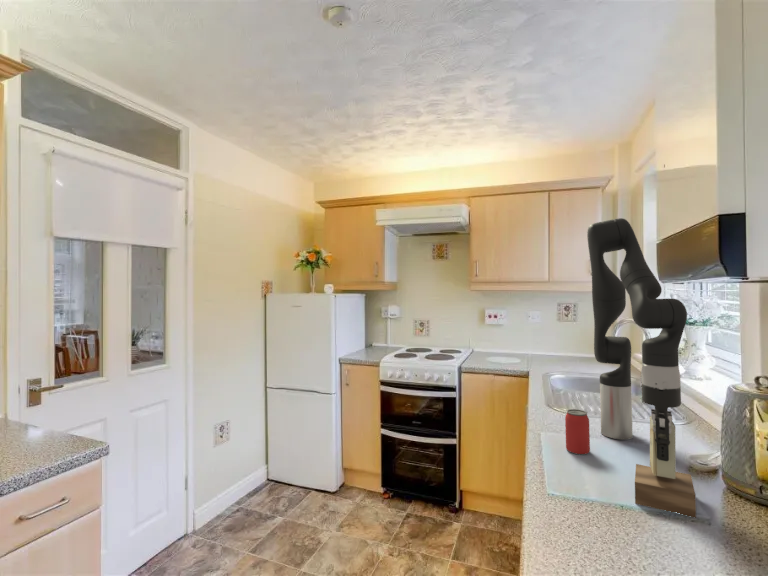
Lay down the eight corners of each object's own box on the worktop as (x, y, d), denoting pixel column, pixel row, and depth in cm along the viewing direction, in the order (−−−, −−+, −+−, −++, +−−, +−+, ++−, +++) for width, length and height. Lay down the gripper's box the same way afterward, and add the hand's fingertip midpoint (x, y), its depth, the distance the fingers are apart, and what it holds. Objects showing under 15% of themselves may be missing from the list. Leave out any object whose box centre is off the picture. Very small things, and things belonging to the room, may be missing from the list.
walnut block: (636, 483, 100) (636, 463, 100) (691, 495, 93) (690, 474, 93) (635, 503, 90) (634, 481, 91) (696, 518, 84) (695, 494, 84)
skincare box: (649, 465, 96) (648, 415, 96) (671, 468, 94) (670, 417, 94) (653, 476, 90) (652, 423, 90) (677, 480, 88) (675, 426, 88)
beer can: (570, 445, 125) (569, 407, 125) (593, 450, 120) (592, 411, 120) (562, 451, 120) (561, 412, 120) (585, 457, 116) (584, 416, 116)
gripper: (642, 375, 100) (643, 441, 100) (641, 388, 88) (642, 462, 88) (678, 379, 96) (680, 447, 96) (682, 392, 84) (684, 470, 84)
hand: (662, 454), depth 92 cm, fingers closed on skincare box, 6 cm apart
